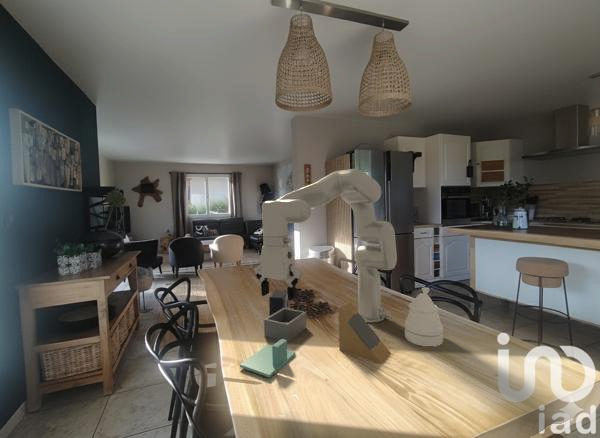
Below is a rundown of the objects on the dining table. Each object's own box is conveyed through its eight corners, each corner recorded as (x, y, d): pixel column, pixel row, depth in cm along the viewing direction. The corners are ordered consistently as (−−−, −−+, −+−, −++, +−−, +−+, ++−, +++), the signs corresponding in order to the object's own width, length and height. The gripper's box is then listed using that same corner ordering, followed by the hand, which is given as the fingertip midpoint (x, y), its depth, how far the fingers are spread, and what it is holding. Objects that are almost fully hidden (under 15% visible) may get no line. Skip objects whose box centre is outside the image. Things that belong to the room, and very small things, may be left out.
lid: (295, 357, 93) (295, 334, 93) (269, 381, 81) (268, 354, 81) (268, 349, 99) (267, 327, 99) (240, 370, 87) (239, 345, 87)
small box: (283, 321, 122) (282, 297, 122) (268, 320, 123) (268, 296, 123) (289, 312, 132) (288, 290, 132) (275, 311, 134) (275, 289, 133)
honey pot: (413, 327, 113) (413, 282, 112) (448, 337, 104) (448, 289, 103) (398, 338, 104) (398, 290, 103) (435, 350, 95) (435, 297, 94)
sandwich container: (382, 365, 87) (382, 317, 87) (338, 351, 97) (338, 307, 96) (392, 353, 94) (391, 309, 93) (350, 341, 103) (349, 300, 103)
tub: (306, 329, 114) (306, 312, 113) (288, 343, 102) (287, 324, 102) (284, 324, 119) (283, 307, 119) (264, 337, 107) (264, 319, 107)
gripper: (306, 240, 85) (308, 296, 86) (260, 238, 94) (263, 289, 95) (293, 244, 79) (296, 305, 80) (245, 242, 87) (248, 296, 88)
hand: (278, 296), depth 87 cm, fingers open, 9 cm apart
